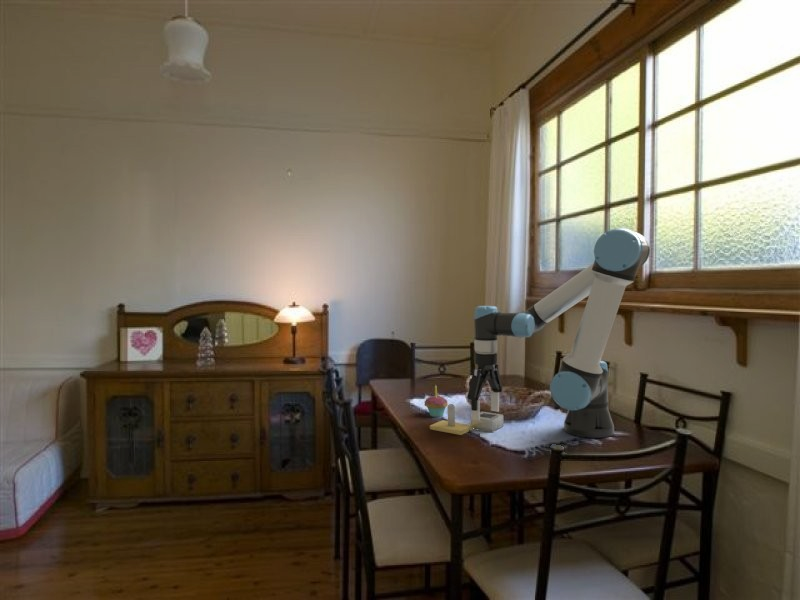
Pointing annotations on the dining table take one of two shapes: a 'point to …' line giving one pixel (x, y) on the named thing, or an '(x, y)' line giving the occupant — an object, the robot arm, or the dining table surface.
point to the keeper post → (451, 424)
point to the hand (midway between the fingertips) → (485, 415)
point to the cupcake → (436, 404)
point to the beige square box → (488, 422)
